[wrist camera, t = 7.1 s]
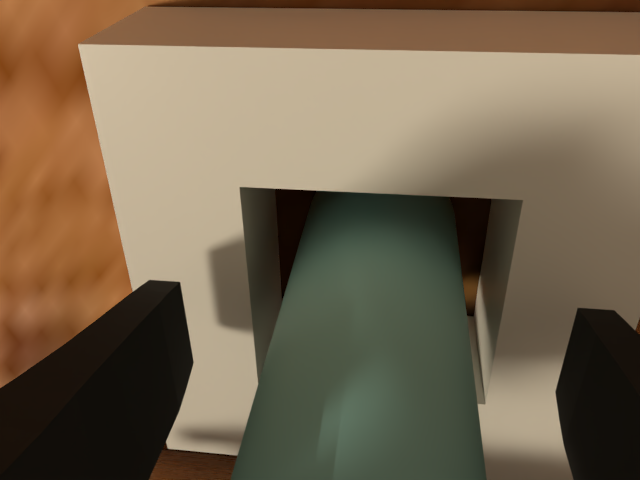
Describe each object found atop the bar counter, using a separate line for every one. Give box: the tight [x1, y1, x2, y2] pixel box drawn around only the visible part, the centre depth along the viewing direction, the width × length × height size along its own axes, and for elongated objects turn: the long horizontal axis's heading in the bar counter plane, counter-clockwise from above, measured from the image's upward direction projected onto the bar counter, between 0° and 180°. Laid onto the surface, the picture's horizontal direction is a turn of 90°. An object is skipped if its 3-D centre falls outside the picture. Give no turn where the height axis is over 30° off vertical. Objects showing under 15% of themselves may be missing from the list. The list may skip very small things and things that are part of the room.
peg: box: [230, 191, 487, 480], centre depth 11 cm, size 4×4×9 cm
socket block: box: [78, 7, 640, 480], centre depth 13 cm, size 10×10×3 cm
